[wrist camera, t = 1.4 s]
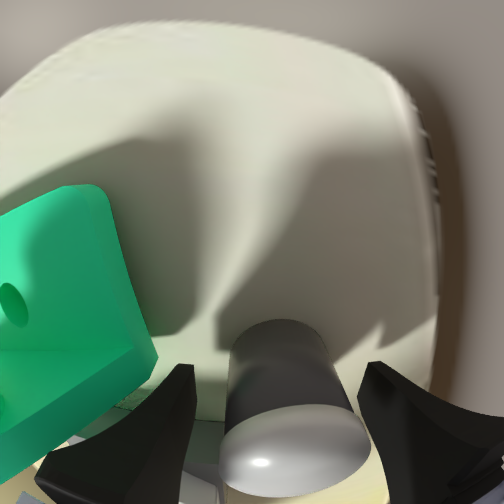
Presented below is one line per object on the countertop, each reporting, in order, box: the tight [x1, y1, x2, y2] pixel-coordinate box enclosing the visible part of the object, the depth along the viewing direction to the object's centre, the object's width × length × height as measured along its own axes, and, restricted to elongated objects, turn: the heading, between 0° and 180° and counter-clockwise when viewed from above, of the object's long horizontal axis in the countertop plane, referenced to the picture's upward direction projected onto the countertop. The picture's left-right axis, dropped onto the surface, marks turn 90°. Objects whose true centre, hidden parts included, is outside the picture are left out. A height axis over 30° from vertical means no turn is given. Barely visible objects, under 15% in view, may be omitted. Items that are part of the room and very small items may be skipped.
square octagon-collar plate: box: [67, 407, 227, 504], centre depth 12 cm, size 9×9×5 cm
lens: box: [218, 319, 371, 497], centre depth 9 cm, size 5×5×6 cm
